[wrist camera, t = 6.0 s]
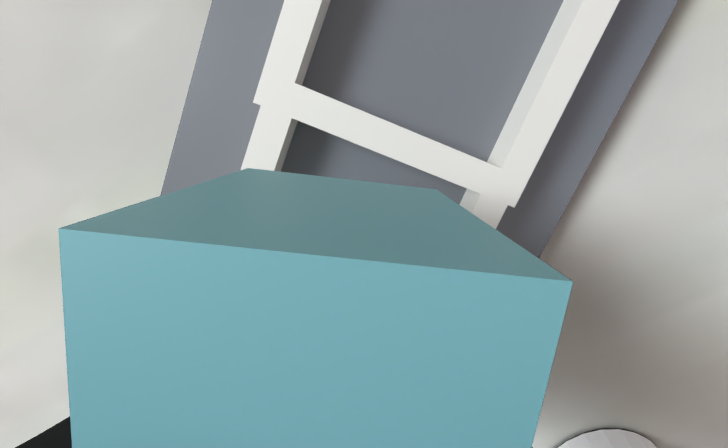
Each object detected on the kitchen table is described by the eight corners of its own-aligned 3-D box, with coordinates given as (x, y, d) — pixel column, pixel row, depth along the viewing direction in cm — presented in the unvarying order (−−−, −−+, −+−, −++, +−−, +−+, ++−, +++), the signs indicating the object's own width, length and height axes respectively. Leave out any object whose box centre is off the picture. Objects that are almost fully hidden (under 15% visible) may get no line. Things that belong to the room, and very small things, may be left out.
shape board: (678, -36, 13) (750, -69, 11) (428, 436, 18) (439, 485, 16) (289, -234, 12) (271, -326, 9) (131, 342, 17) (93, 380, 14)
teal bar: (436, 189, 9) (573, 281, 3) (392, 464, 11) (435, 829, 5) (248, 167, 9) (58, 227, 3) (234, 452, 11) (94, 820, 5)
